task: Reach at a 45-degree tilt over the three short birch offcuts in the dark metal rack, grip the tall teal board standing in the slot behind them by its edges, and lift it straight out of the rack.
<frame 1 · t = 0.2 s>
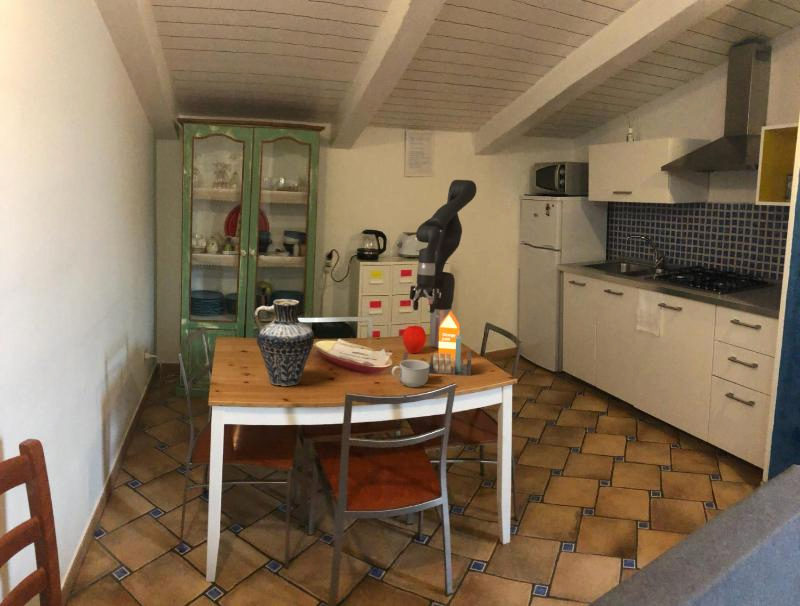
hand: (423, 311, 284), 18 cm above the table, tool pointing down, fingers open, 8 cm apart
offcut 2: (441, 369, 258), point 1 cm above the table, touching rack
orange juice: (448, 360, 276), on the table
apple: (413, 353, 285), on the table
teacup: (409, 385, 241), on the table
rack: (436, 371, 259), on the table
teal board: (457, 369, 258), point 1 cm above the table, touching rack
offcut 1: (447, 369, 258), point 1 cm above the table, touching rack
jug: (284, 383, 239), on the table
offcut 3: (435, 368, 259), point 1 cm above the table, touching rack
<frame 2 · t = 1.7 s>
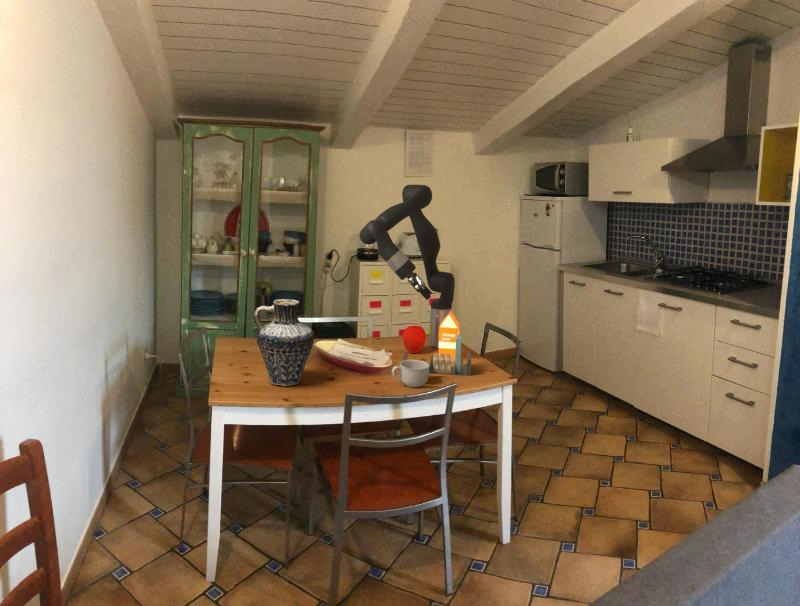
hand: (429, 296, 254), 29 cm above the table, tool tilted 45°, fingers open, 8 cm apart
nothing on the table moved.
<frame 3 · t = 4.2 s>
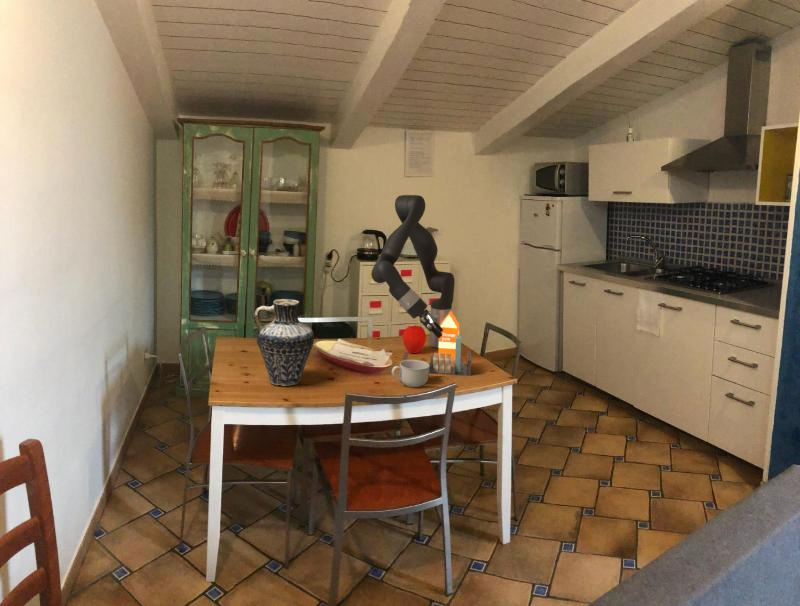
hand: (441, 334, 256), 15 cm above the table, tool tilted 45°, fingers open, 8 cm apart
nothing on the table moved.
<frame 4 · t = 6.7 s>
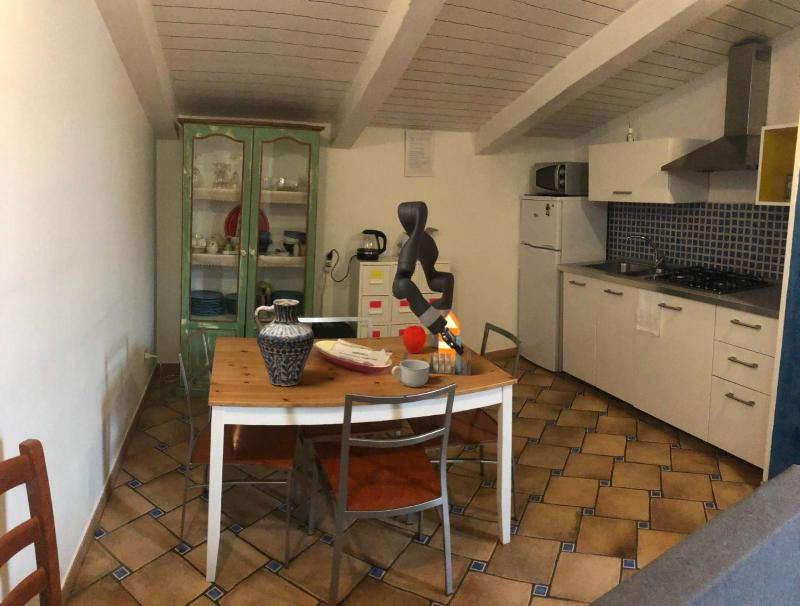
hand: (462, 351, 257), 8 cm above the table, tool tilted 45°, fingers closed on teal board, 6 cm apart
teal board: (457, 369, 258), point 1 cm above the table, touching gripper, rack
everything else where it was.
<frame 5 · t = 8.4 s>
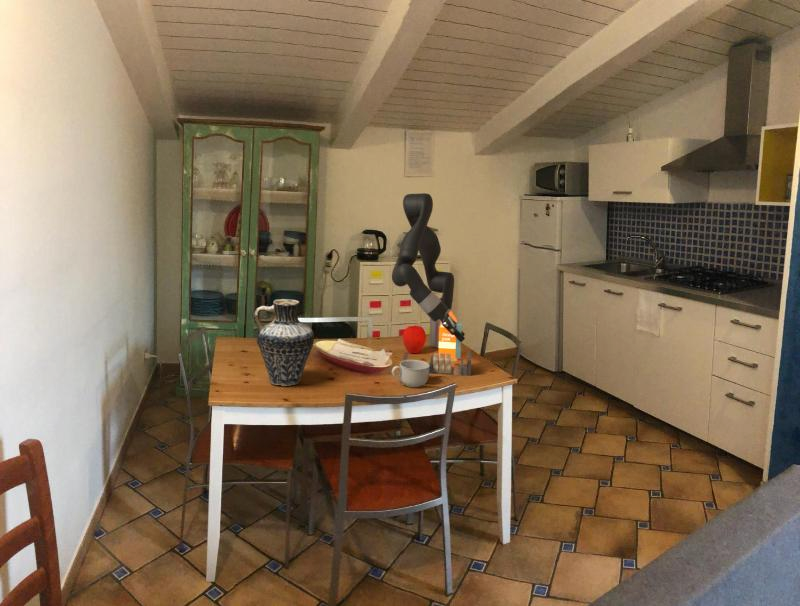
hand: (463, 338, 256), 14 cm above the table, tool tilted 45°, fingers closed on teal board, 6 cm apart
teal board: (457, 356, 257), point 6 cm above the table, touching gripper
everything else where it was.
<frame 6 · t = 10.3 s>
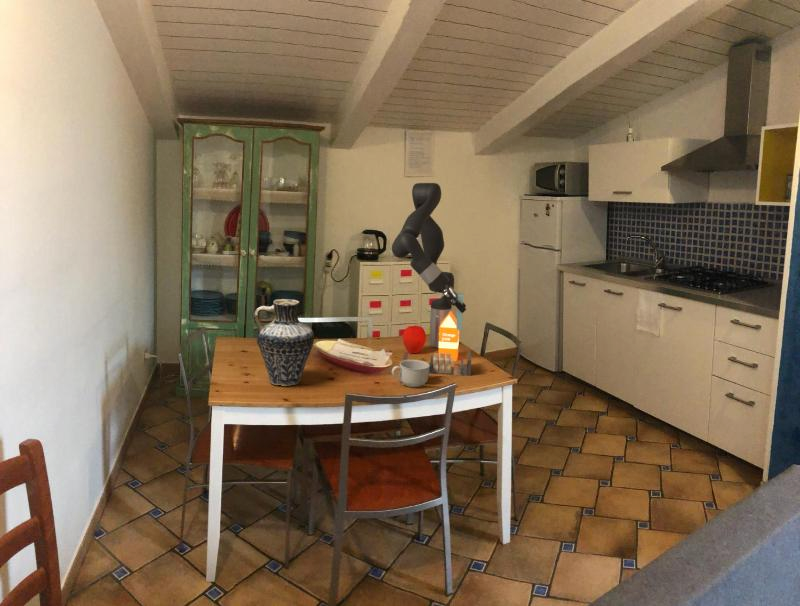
hand: (464, 309, 253), 25 cm above the table, tool tilted 45°, fingers closed on teal board, 6 cm apart
teal board: (458, 328, 255), point 17 cm above the table, touching gripper
everything else where it was.
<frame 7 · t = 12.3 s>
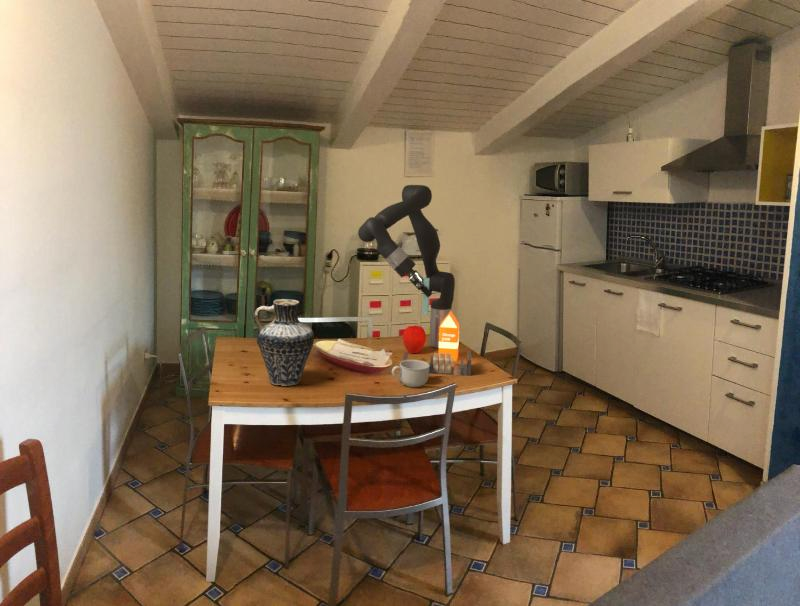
hand: (430, 294, 254), 30 cm above the table, tool tilted 45°, fingers closed on teal board, 6 cm apart
teal board: (425, 312, 255), point 23 cm above the table, touching gripper
everything else where it was.
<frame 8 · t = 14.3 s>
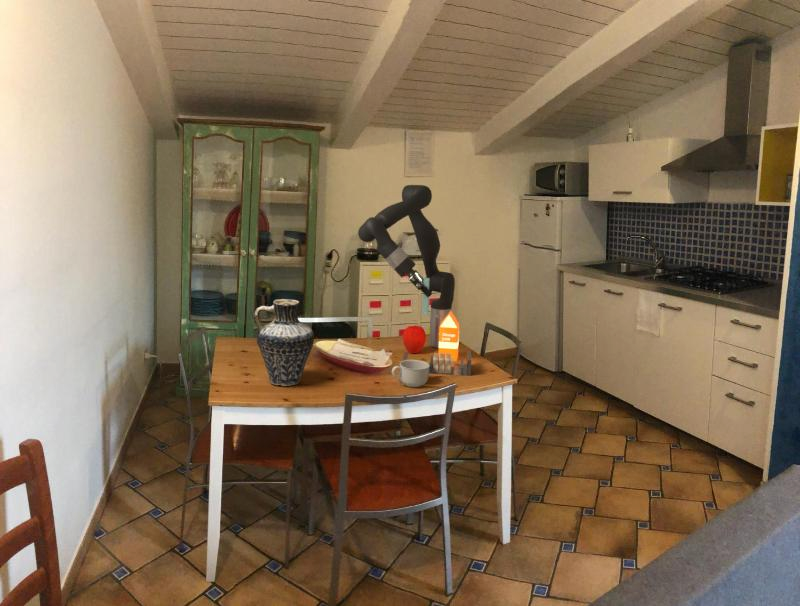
hand: (430, 294, 254), 30 cm above the table, tool tilted 45°, fingers closed on teal board, 6 cm apart
teal board: (425, 312, 255), point 23 cm above the table, touching gripper
everything else where it was.
at the end: teal board point 22.9 cm above the table; the gripper is holding teal board; offcut 1 moved 0.0 cm from its start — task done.
